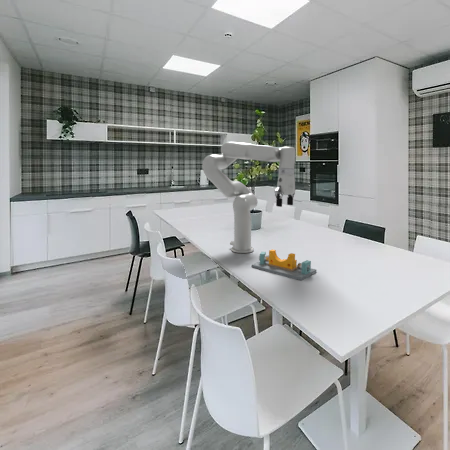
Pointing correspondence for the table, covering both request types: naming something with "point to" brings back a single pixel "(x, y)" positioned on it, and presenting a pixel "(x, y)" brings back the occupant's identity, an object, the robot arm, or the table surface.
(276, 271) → the stand
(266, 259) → the short metal cylinder
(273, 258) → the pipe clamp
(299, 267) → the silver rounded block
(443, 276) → the table surface
